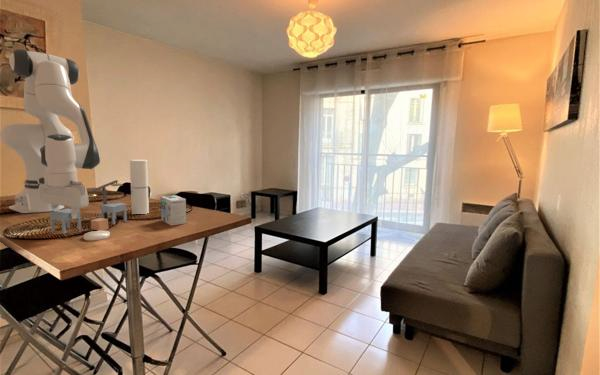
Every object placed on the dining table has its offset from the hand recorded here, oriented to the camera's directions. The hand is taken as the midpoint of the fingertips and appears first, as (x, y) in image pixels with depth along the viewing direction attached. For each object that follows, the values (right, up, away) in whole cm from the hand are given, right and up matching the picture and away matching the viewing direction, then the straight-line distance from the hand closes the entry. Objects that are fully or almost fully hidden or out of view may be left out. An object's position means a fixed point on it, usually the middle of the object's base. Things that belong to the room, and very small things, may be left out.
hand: (65, 216), depth 115 cm
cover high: (+9, -4, +16) cm, 18 cm away
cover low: (0, -5, +1) cm, 5 cm away
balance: (+3, -3, +20) cm, 20 cm away
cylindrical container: (+12, -1, +31) cm, 34 cm away
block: (+10, -5, +5) cm, 12 cm away
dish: (+14, -7, -4) cm, 16 cm away
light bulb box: (+32, -4, +20) cm, 38 cm away
